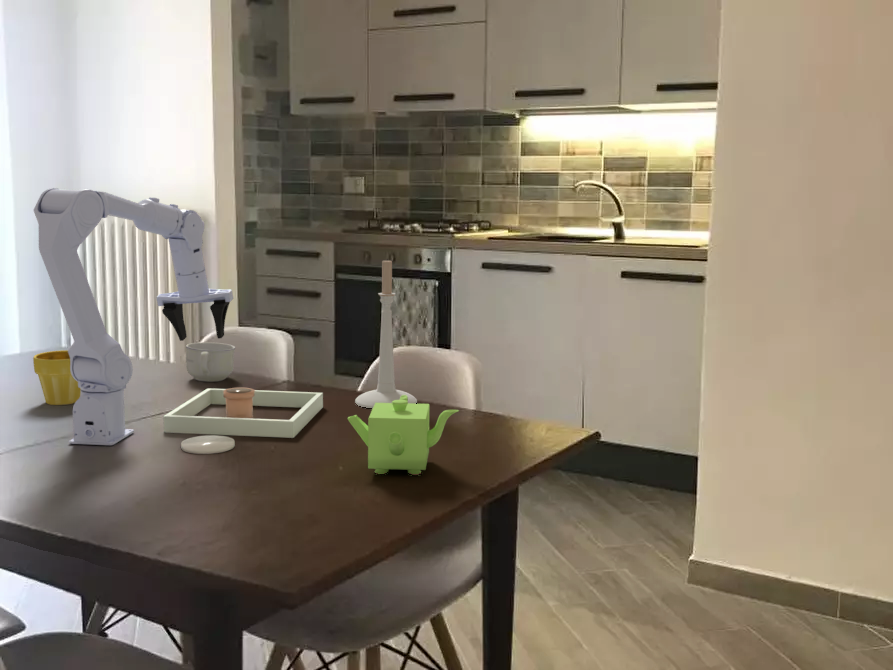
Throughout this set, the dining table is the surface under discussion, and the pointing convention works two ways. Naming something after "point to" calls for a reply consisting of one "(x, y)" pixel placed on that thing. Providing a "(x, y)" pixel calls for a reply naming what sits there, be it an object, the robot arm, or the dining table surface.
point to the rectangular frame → (188, 423)
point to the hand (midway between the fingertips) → (202, 337)
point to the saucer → (207, 444)
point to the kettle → (399, 435)
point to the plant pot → (56, 377)
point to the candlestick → (385, 351)
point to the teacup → (209, 361)
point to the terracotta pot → (239, 402)
